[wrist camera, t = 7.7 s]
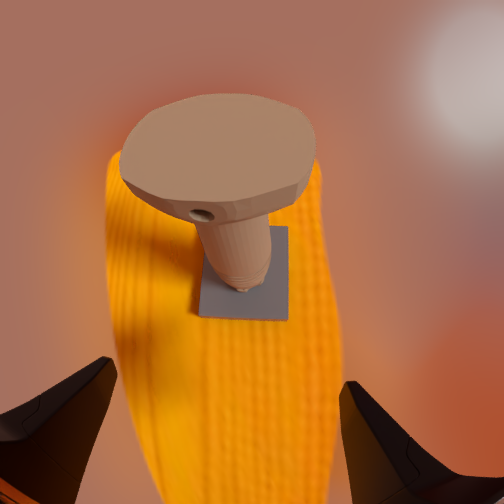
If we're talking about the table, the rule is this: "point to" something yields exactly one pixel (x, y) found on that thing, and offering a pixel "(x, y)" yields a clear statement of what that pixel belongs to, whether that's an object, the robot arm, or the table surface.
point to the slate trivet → (256, 298)
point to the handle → (223, 173)
